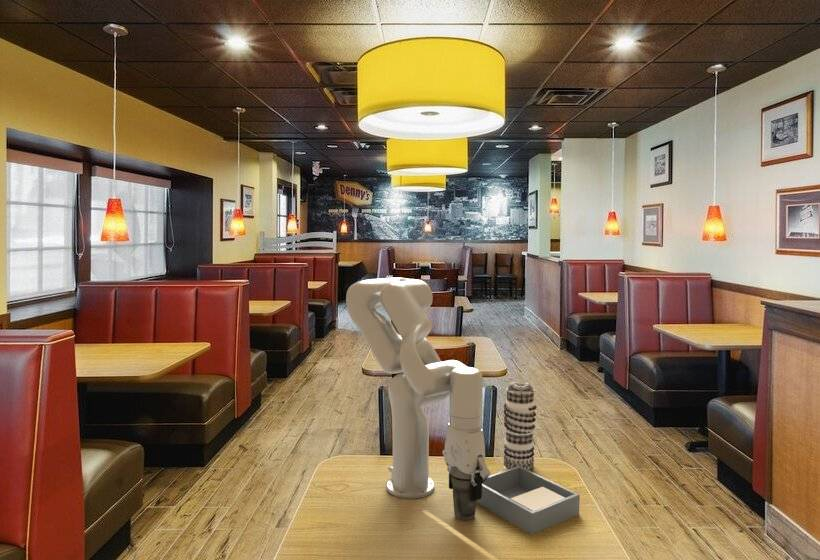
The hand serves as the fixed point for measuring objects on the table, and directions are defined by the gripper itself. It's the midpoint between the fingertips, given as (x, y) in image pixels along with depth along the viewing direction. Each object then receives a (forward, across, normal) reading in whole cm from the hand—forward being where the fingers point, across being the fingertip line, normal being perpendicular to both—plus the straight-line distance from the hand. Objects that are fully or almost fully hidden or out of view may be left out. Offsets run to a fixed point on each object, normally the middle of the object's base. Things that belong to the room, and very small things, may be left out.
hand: (465, 493), depth 142 cm
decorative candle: (+7, -13, +31) cm, 34 cm away
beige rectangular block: (+6, +10, +15) cm, 19 cm away
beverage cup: (+7, 0, 0) cm, 7 cm away
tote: (+7, +5, +15) cm, 17 cm away
